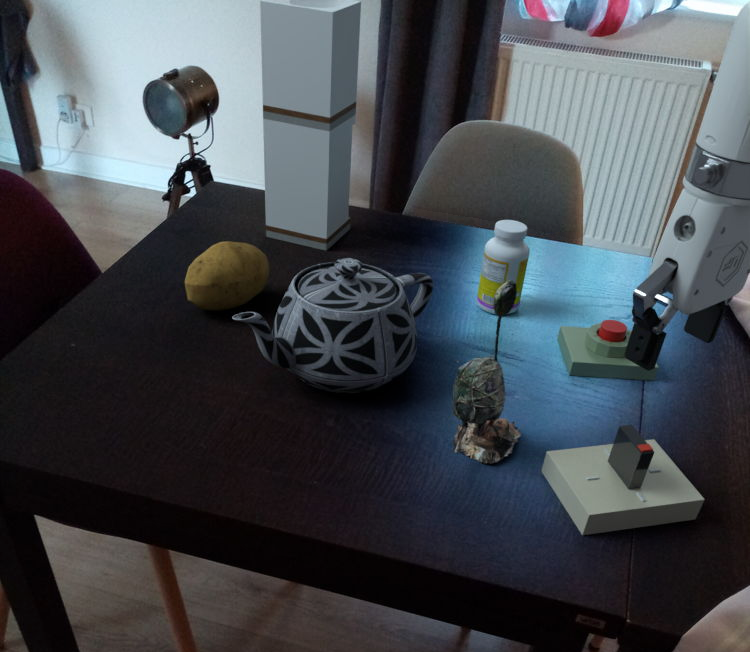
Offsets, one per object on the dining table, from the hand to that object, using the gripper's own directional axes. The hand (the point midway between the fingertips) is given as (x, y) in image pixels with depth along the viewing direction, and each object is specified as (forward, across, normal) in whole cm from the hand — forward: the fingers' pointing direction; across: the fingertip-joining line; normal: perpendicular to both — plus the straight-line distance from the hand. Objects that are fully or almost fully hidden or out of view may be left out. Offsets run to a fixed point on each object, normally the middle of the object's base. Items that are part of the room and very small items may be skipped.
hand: (668, 349), depth 77 cm
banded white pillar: (+19, +10, +77) cm, 80 cm away
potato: (+19, -15, +62) cm, 66 cm away
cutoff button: (+15, +22, +20) cm, 34 cm away
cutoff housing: (+19, +22, +20) cm, 36 cm away
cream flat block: (+19, 0, 0) cm, 19 cm away
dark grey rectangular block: (+16, 0, 0) cm, 16 cm away
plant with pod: (+19, -7, +16) cm, 26 cm away
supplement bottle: (+19, +20, +40) cm, 49 cm away
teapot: (+19, -12, +38) cm, 44 cm away
